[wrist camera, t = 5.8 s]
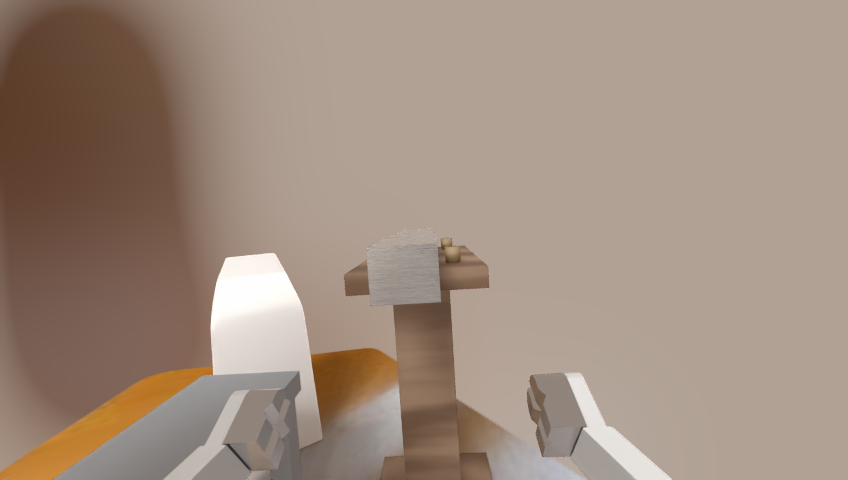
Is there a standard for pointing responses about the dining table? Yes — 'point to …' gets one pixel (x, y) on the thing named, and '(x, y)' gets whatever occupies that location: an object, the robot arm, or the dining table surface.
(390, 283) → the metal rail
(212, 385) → the slate bench
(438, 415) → the walnut stand
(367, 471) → the dining table surface
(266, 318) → the milk
